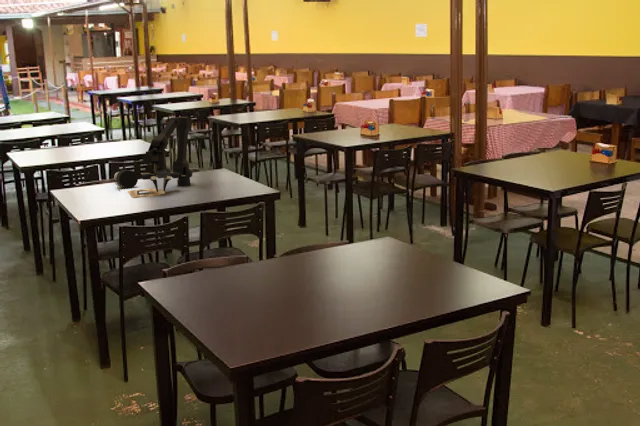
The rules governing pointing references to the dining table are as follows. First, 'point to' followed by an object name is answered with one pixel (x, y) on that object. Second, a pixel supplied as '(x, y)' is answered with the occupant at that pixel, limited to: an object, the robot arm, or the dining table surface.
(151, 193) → the board
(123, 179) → the black cylinder
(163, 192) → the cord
